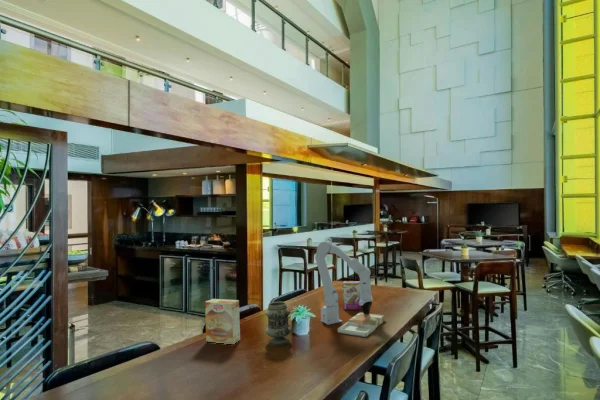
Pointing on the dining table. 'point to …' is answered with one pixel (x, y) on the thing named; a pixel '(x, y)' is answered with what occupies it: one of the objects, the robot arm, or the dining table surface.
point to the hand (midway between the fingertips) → (366, 316)
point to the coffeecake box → (222, 321)
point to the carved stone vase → (278, 323)
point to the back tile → (365, 316)
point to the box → (356, 329)
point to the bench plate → (371, 319)
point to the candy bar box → (351, 295)
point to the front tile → (360, 320)
